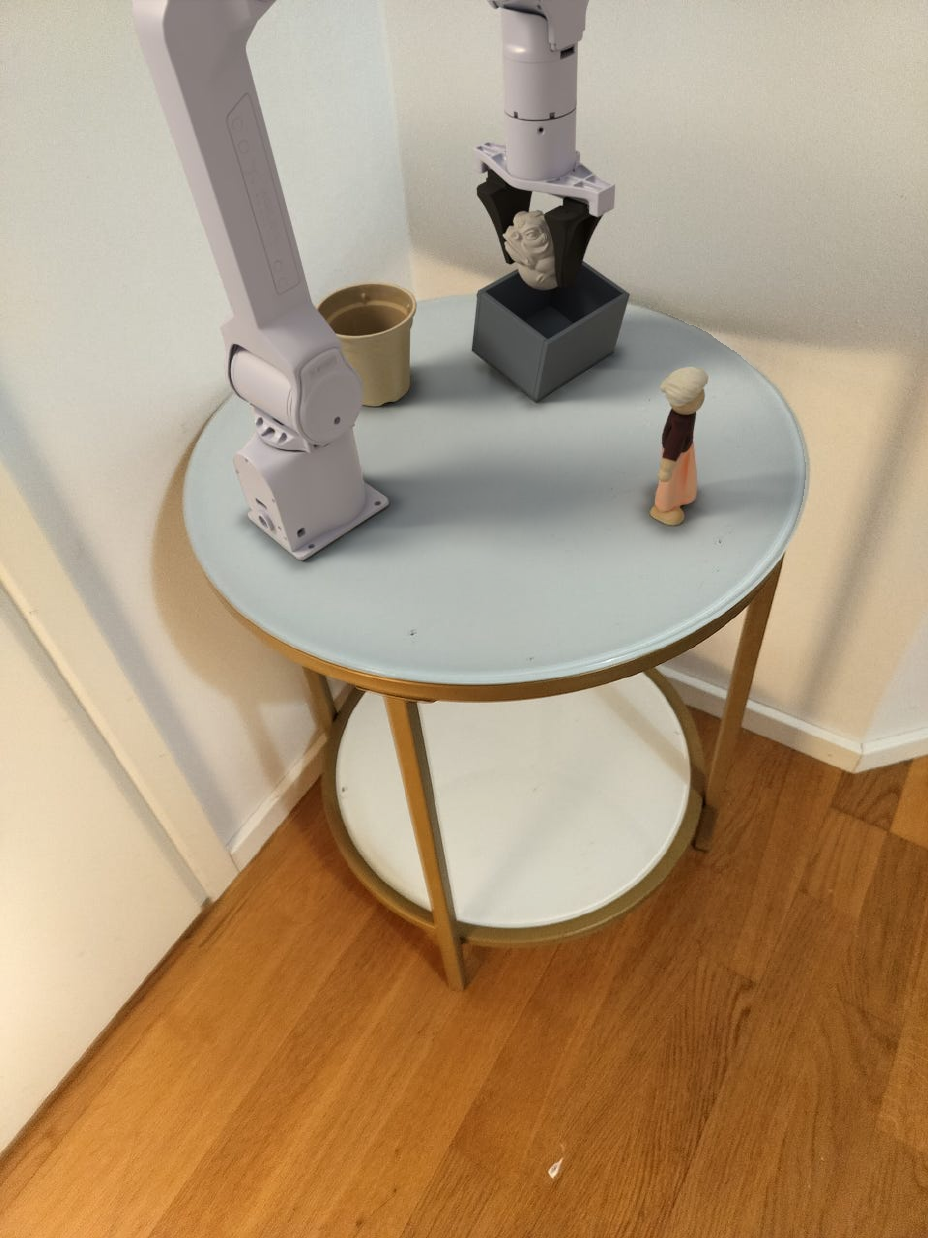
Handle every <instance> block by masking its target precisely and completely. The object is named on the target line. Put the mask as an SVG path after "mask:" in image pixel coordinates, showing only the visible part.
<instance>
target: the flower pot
mask: <svg viewBox="0 0 928 1238" xmlns="http://www.w3.org/2000/svg"><path fill="white" fill-rule="evenodd" d="M417 305H418V304H417V300H416V298H415V296H414V294H413V293H412V292H411V291H409V290H408V289H406V288H405V287H403V286H400V285H397V284H394V283H389V282H383V281H381V282H380V281H368V282H367V281H365V282H359V283H353V284H349V285H346V286H343V287H340V288H338V289H336V290H333V291H331V292H330V293H328V294H326V296H324V297H322V298H321V300H320V301H319V302H318V303H317V304H316V305H315V308H316V309H317V310H318V312H319V313H320V314H321V315H322V317H323V318H324V319H325V321H326V322H327V323H328V324H329V326H330V327H331V328H332V330H333V331H334V332H335V334H336V335H337V336H338V338H339V339H340V341H341V344H342V348H343V352H344V355H345V357H346V359H347V361H348V362H349V364H350V365H352V366H353V367H354V368H355V369H356V371H357V372H358V374H359V375H360V377H361V380H362V384H363V392H364V393H363V402H362V406H367V407H380V406H382V405H383V404H386V403H389V402H393V403H395V402H397V401H399V400H400V399H401V398H403V397H404V396H405V395H406V394H407V393H408V391H409V390H410V386H411V379H410V378H411V376H410V375H411V373H410V371H411V369H410V368H411V361H410V360H411V329H412V328H413V327H412V326H413V323H414V317H415V314H416V313H417Z"/></svg>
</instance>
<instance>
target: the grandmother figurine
mask: <svg viewBox="0 0 928 1238" xmlns="http://www.w3.org/2000/svg"><path fill="white" fill-rule="evenodd" d="M708 382H709V374H708V372H707V371H705V370H704V369H702V368H698V367H695V366H686V367H680V368H677V369H676V370H674V371H672V372H671V373H670V374H669V375H668V376H667V377H665V379H664V380H663V381H662V382H661V384H660V385H659V390H660V391H661V392H662V393H665V398H666V400H667V401H668V403H669V406H670V408H671V409H670V411H669V412H668V415H667V418H666V421H665V424H664V427H663V431H662V434H661V463H660V469H659V471H658V473H657V478H658V486H657V489H656V490H655V492H654V498H655V499H654V505H653V506H652V507H651V509H650V512H649V514H650V516H651V518H653V519H655V520H656V521H659V522H661V523H663V524H665V525H667V526H673V527H674V526H679V525H680V524H682V523H683V521H684V519H685V512H684V511H683V510H682V508H681V506H683V505H689V504H691V503H693V502H694V501H695V499H697V492H698V491H697V490H698V470H697V469H698V468H697V460H696V450H695V449H696V448H695V443H694V442H695V441H694V432H695V426H696V419H697V412H698V411H699V410H700V409H701V408H702V406H703V405H704V402H705V398H706V393H705V389H704V388H705V387H706V385H707V384H708Z"/></svg>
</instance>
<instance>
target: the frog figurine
mask: <svg viewBox="0 0 928 1238" xmlns="http://www.w3.org/2000/svg"><path fill="white" fill-rule="evenodd" d="M513 222H514V226H509V228H508V229H507V231H506V233H505V234H503V237H504V238H505V239H506V240H507V241H506V242H505V246H506V247H505V248H506V251H508V253H509V255H510V256H511V258H512V259H513V260H514V261H515V263H516V265H517V266H516V267H517V269H518V271H519V274H520V276H521V277H522V279H523V280H524V281H525V282H526V283H527V284H528V285H529V286H531V287H533V288H535V289H538V290H549V289H553V288H555V287H557V282H556V277H555V256H554V248H553V242H552V237H551V234H550V230H549V227H548V225H547V222H546V220H545V213H544V212H543V211H542V210H540V209H536V210H531V211H529V212H526V211H521V212H518V213H517V214H516V215H515V217H514V221H513Z"/></svg>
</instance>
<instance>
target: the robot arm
mask: <svg viewBox="0 0 928 1238" xmlns="http://www.w3.org/2000/svg"><path fill="white" fill-rule="evenodd" d="M486 1H487V2H488V5H489V6H490V7H491V8H492V9H494V10H497V9H499V8H500V29H501V31H500V32H501V52H502V53H501V55H502V56H501V57H502V80H503V81H502V83H503V87H502V89H503V109H504V111H503V112H504V138H505V139H504V141H505V144H503V143H499V142H494V141H491V140H488V141H485V142H483V143H481V144H479V145H477V146H475V147H473V148H472V153H473V155H472V156H473V158H472V159H473V171H474V172H476V173H479V174H485V173H487V177H485V181H483V182H482V183H480V184H478V185H477V186H476V197H478V199H479V200H480V202H481V203H482V206H484V208H485V210H486V212H487V215H488V216H489V217H490V220H491V222H492V224H493V227H494V229H495V233H496V235H497V238H498V241H499V244H500V248H501V252H502V255H503V259H504V261H505V263H506V264H508V265H510V266H511V265H513V264H515V263H516V262H515V261H514V260H513V259H512V258H511V256H510V255H509V253H508V251H506V248H505V247H506V246H505V242H506V241H507V240H506V239H505V238H504V237H503V234H505V233H506V231H507V229H508V228H509V226H514V222H513V221H514V217H515V215H516V214H517V213H518V212H521V211H526V212H530V207H531V201H532V195H533V192H536V193H543V194H548V195H551V196H553V197H556V198H559V199H561V200H562V205H561V204H560V205H558V206H556V207H554V208H552V209H550V210H549V211H546V212H545V213H544V214H545V220H546V222H547V225H548V227H549V230H550V234H551V237H552V242H553V248H554V256H555V277H556V282H557V286H559V287H562V288H564V287H566V286H568V285H570V284H571V283H573V282H575V281H576V280H578V277H579V273H580V269H581V265H582V262H583V261H584V258H585V255H586V252H587V249H588V247H589V244H590V241H591V239H592V237H593V235H594V232H595V231H596V229H597V227H598V225H599V223H600V221H601V219H602V218H603V216H604V215H605V214H606V213H608V212H610V211H612V210H613V209H614V208H615V195H616V184H615V183H612V182H610V181H608V180H606V179H603V178H602V177H600V176H599V175H598V174H596V173H595V172H594V171H592V170H591V169H590V168H588V167H587V166H586V165H584V163H582V162H581V152H580V151H579V150H576V149H577V148H576V147H577V105H578V62H579V61H578V60H579V58H578V57H579V42H581V41H582V39H583V37H584V36H583V35H584V32H585V31H586V16H587V9H588V5H589V2H590V0H486ZM276 2H277V0H131V11H132V12H131V13H132V20H133V24H134V29H135V33H136V35H137V38H138V41H139V44H140V47H141V50H142V53H143V55H144V59H145V62H146V65H147V68H148V70H149V74H150V76H151V79H152V82H153V85H154V88H155V91H156V94H157V97H158V99H159V103H160V106H161V108H162V111H163V114H164V117H165V120H166V123H167V125H168V128H169V131H170V135H171V137H172V140H173V143H174V146H175V149H176V151H177V155H178V157H179V161H180V163H181V166H182V169H183V171H184V175H185V178H186V181H187V184H188V187H189V189H190V190H189V191H190V193H191V195H192V198H193V202H194V204H195V207H196V210H197V213H198V215H199V218H200V222H201V223H202V227H203V231H204V233H205V236H206V238H207V242H208V245H209V247H210V250H211V254H212V256H213V259H214V262H215V264H216V269H217V271H218V274H219V276H220V279H221V283H222V285H223V288H224V292H225V294H226V297H227V299H228V303H229V305H230V308H231V313H229V314H228V315H227V316H226V317H225V319H224V320H223V321H222V323H221V324H220V326H219V331H220V333H221V336H222V339H223V343H224V347H225V348H224V349H225V351H224V352H225V355H224V364H223V369H224V378H225V381H226V383H227V386H228V388H229V390H230V391H231V392H232V393H233V395H235V396H236V397H238V398H239V399H240V400H243V401H244V402H246V403H249V406H250V407H249V408H250V410H251V413H252V416H253V418H254V423H255V427H256V430H255V432H254V434H253V435H252V437H251V438H250V439H249V441H248V442H247V443H246V444H245V445H243V446H242V447H241V448H240V449H239V450H238V451H237V452H235V454H234V455H233V459H232V460H233V467H234V470H235V474H236V476H237V478H238V479H237V480H238V482H239V484H240V488H241V490H242V493H243V495H244V499H245V501H246V504H247V507H248V510H249V511H248V512H247V516H248V518H249V520H251V522H252V523H254V524H255V525H256V526H257V527H259V528H260V529H261V530H262V531H264V533H266V534H267V535H268V536H270V537H271V538H272V539H273V540H274V541H275V542H276V543H277V544H279V545H280V546H282V547H283V549H285V550H286V551H287V552H289V554H291V555H292V557H294V558H295V559H297V560H299V561H304V560H306V559H308V558H310V557H311V556H313V555H314V554H316V553H317V552H319V551H320V550H322V549H323V548H325V547H326V546H328V545H330V544H331V543H332V542H334V541H336V540H338V538H340V537H342V536H343V535H345V534H346V533H349V531H351V530H352V529H354V528H356V527H357V526H358V525H360V524H362V523H363V522H365V521H366V520H368V519H369V518H370V517H371V518H372V516H374V515H375V514H377V513H378V512H380V511H381V510H383V509H384V508H386V507H387V506H389V504H390V502H389V498H388V497H387V496H385V495H383V494H382V493H381V492H379V491H378V490H377V489H375V488H374V487H373V486H371V485H370V484H368V483H367V482H365V480H364V476H363V471H362V466H361V461H360V457H359V451H358V447H357V443H356V438H355V434H354V429H353V428H354V427H355V425H356V424H355V423H356V421H357V419H358V417H359V415H360V413H361V410H362V406H363V405H362V402H363V393H364V392H363V384H362V380H361V377H360V375H359V374H358V372H357V371H356V369H355V368H354V367H353V366H352V365H350V364H349V362H348V361H347V359H346V357H345V355H344V352H343V348H342V344H341V341H340V339H339V338H338V336H337V335H336V334H335V332H334V331H333V330H332V328H331V327H330V326H329V324H328V323H327V322H326V321H325V319H324V318H323V317H322V315H321V314H320V313H319V312H318V310H317V309H316V308H315V307H316V305H314V303H313V300H312V297H311V294H310V293H311V292H310V290H309V285H308V282H307V278H306V275H305V270H304V266H303V263H302V258H301V255H300V251H299V248H298V243H297V241H296V237H295V236H296V235H295V233H294V229H293V225H292V221H291V218H290V217H291V216H290V213H289V210H288V206H287V202H286V197H285V195H284V190H283V187H282V183H281V179H280V175H279V171H278V168H277V164H276V160H275V157H274V152H273V148H272V146H271V145H272V144H271V141H270V137H269V134H268V133H269V132H268V130H267V125H266V122H265V118H264V114H263V111H262V108H261V104H260V100H259V96H258V92H257V88H256V84H255V81H254V80H255V79H254V76H253V73H252V72H253V71H252V69H251V65H250V62H249V57H248V54H247V44H248V41H249V39H250V37H251V35H252V33H253V32H254V29H255V27H256V26H257V24H258V22H259V21H260V19H261V18H263V16H264V15H265V14H266V13H267V12H268V11H269V9H271V7H272V6H274V4H275V3H276Z"/></svg>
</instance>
